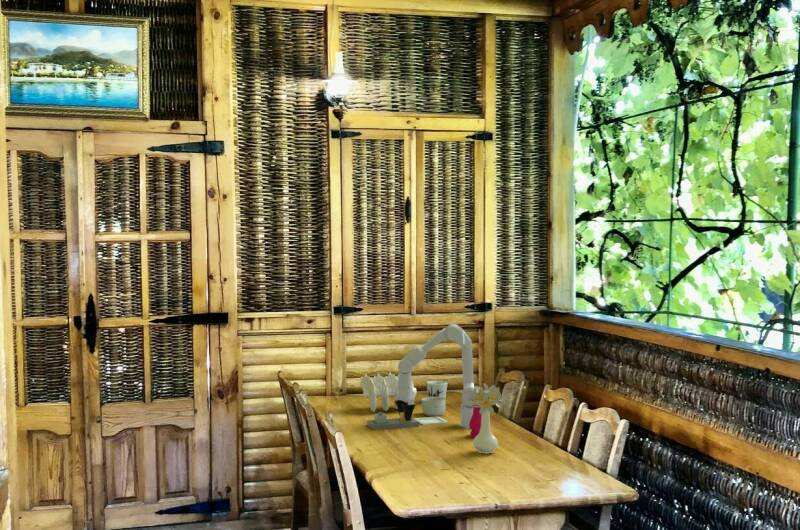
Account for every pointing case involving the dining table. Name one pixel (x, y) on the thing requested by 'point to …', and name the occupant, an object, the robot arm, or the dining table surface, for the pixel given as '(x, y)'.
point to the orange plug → (403, 417)
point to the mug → (436, 388)
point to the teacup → (433, 406)
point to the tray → (431, 421)
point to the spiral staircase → (382, 390)
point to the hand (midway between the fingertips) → (405, 418)
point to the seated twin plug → (380, 418)
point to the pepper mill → (475, 420)
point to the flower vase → (486, 417)
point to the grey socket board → (392, 424)
